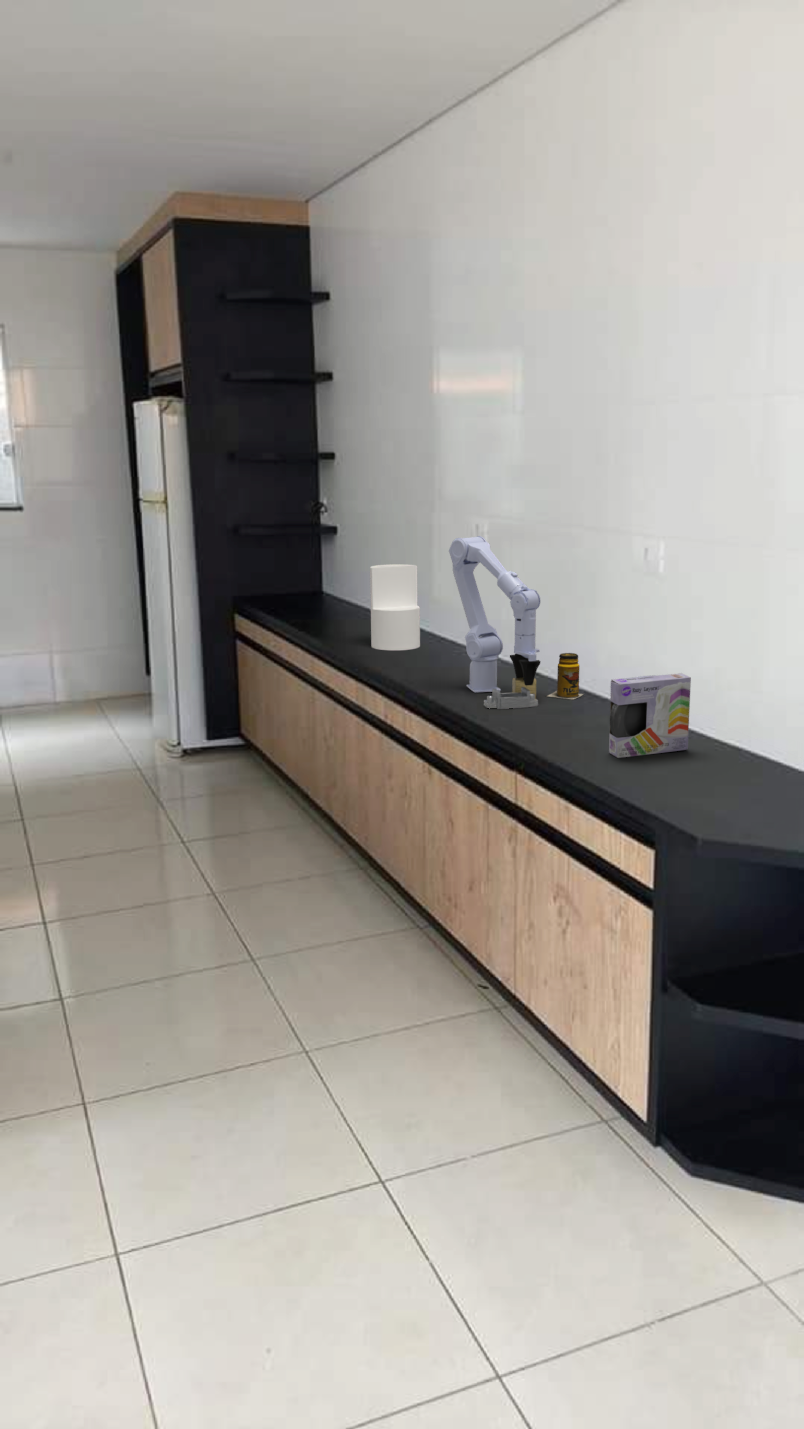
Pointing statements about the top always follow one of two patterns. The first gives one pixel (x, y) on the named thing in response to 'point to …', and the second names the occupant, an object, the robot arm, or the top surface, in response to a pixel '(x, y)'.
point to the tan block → (523, 685)
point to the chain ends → (511, 699)
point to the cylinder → (394, 607)
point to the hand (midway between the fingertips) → (524, 682)
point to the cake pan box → (649, 714)
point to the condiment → (567, 677)
